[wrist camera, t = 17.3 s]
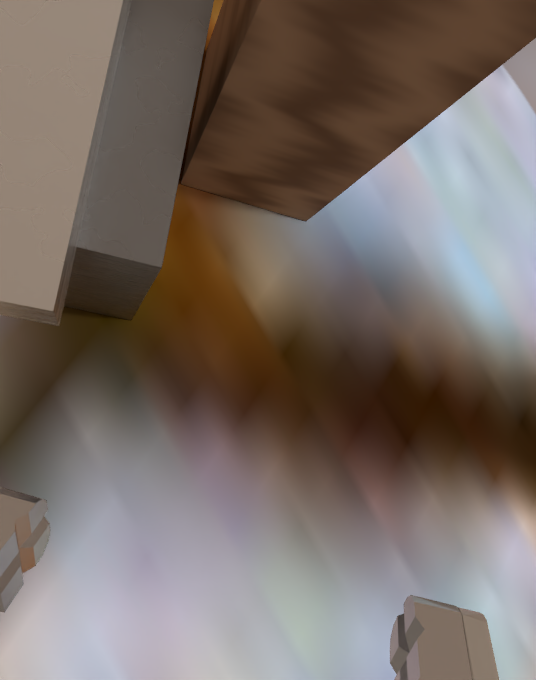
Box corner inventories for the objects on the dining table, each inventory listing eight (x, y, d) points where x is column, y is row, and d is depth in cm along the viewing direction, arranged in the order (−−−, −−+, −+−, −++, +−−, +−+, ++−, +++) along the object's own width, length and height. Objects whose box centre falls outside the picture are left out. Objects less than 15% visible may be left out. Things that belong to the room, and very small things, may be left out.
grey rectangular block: (158, -123, 22) (170, -215, 18) (59, 326, 18) (53, 311, 15) (73, -163, 21) (71, -269, 17) (-48, 305, 17) (-80, 285, 14)
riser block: (169, 133, 36) (220, -33, 22) (131, 320, 34) (161, 267, 20) (19, 84, 33) (-32, -145, 19) (-34, 286, 31) (-135, 195, 17)
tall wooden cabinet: (330, 92, 41) (678, -342, 17) (310, 229, 39) (671, -41, 15) (201, 41, 38) (404, -594, 14) (172, 188, 36) (349, -246, 12)
